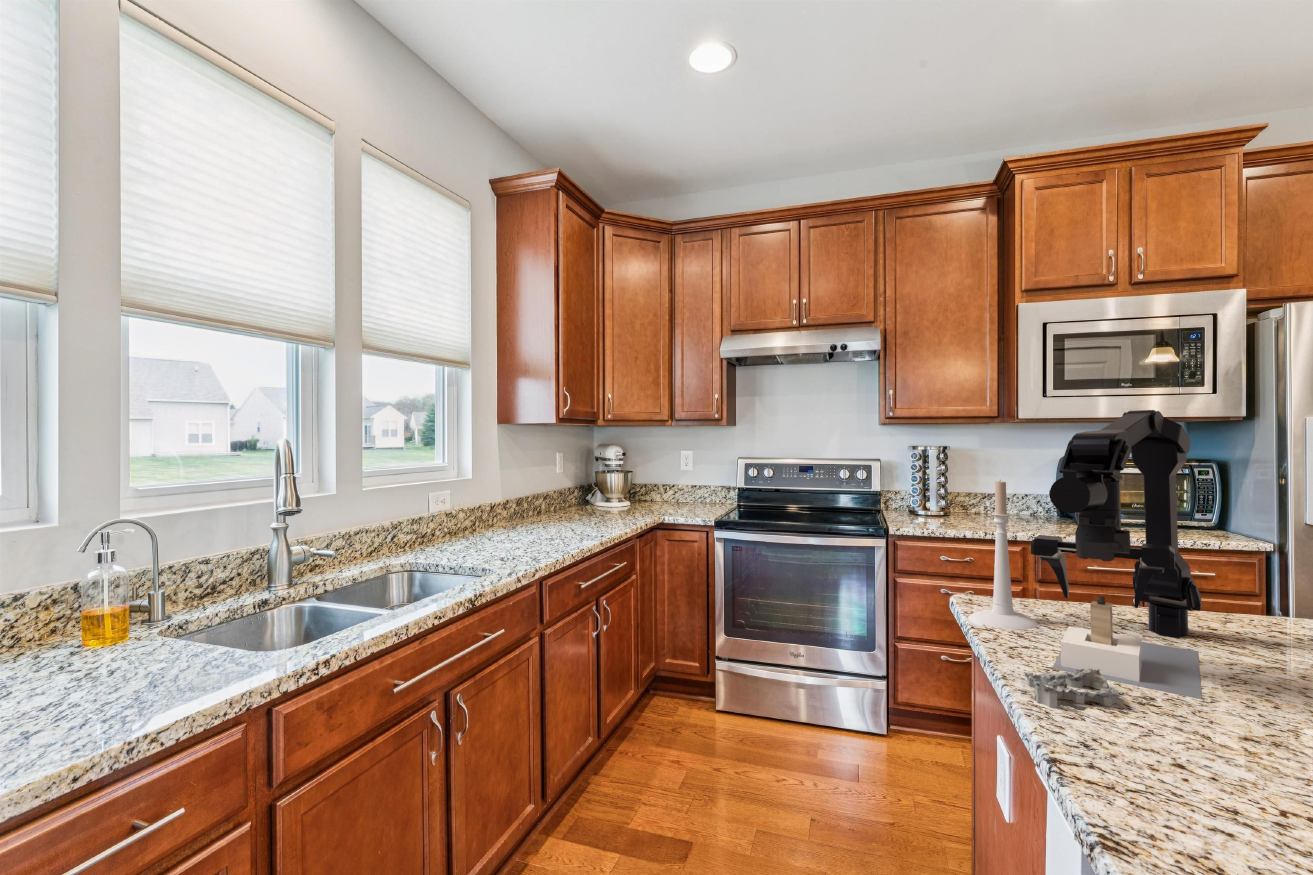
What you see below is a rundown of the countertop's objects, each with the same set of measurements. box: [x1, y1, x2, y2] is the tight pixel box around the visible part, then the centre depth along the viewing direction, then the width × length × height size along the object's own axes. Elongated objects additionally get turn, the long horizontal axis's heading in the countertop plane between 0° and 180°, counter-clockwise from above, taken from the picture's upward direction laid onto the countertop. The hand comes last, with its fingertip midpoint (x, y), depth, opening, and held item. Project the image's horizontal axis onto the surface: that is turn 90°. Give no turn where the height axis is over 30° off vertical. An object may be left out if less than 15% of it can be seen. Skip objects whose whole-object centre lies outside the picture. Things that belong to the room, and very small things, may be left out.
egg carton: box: [1023, 669, 1122, 714], centre depth 87 cm, size 11×8×4 cm
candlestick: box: [967, 480, 1039, 631], centre depth 121 cm, size 13×13×30 cm
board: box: [1051, 641, 1203, 700], centre depth 99 cm, size 24×18×1 cm
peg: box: [1089, 595, 1114, 646], centre depth 97 cm, size 3×3×11 cm
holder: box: [1060, 626, 1143, 682], centre depth 97 cm, size 10×10×4 cm
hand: (1100, 602), depth 97 cm, fingers open, 9 cm apart
